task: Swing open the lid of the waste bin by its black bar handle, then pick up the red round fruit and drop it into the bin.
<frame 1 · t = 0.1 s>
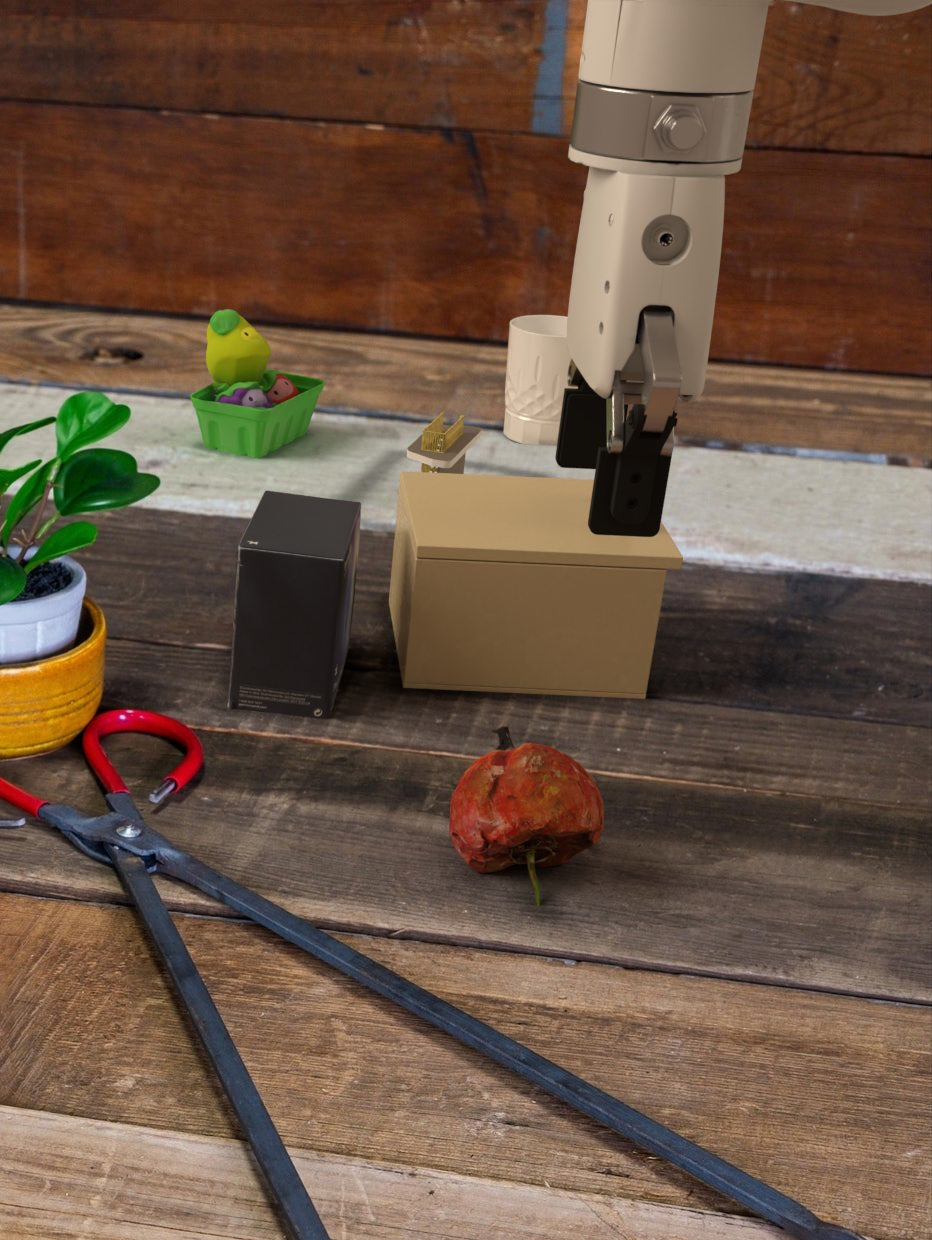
hand: (603, 498, 82), 17 cm above the table, tool pointing down, fingers open, 9 cm apart
fruit basket: (249, 446, 145), on the table
platform: (436, 504, 133), on the table
waste bin: (508, 654, 107), on the table
bin lid: (537, 484, 102), point 11 cm above the table, hinge at 0.0°
white cup: (540, 439, 150), on the table
red round fruit: (517, 879, 84), on the table
small box: (291, 687, 102), on the table
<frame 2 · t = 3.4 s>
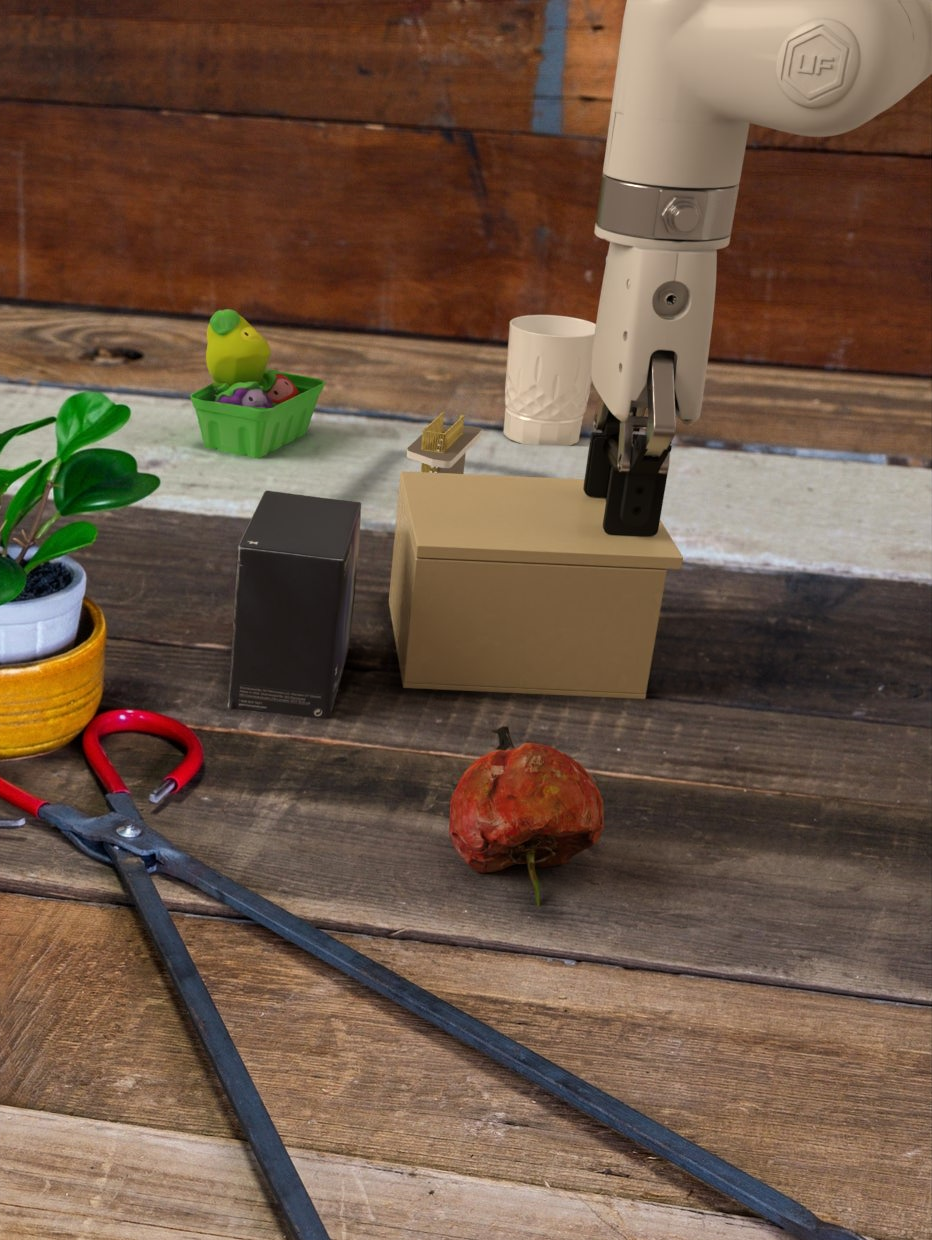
hand: (619, 511, 103), 10 cm above the table, tool pointing down, fingers closed on bin lid, 6 cm apart
bin lid: (537, 484, 102), point 11 cm above the table, hinge at 0.0°, touching gripper
everything else where it was.
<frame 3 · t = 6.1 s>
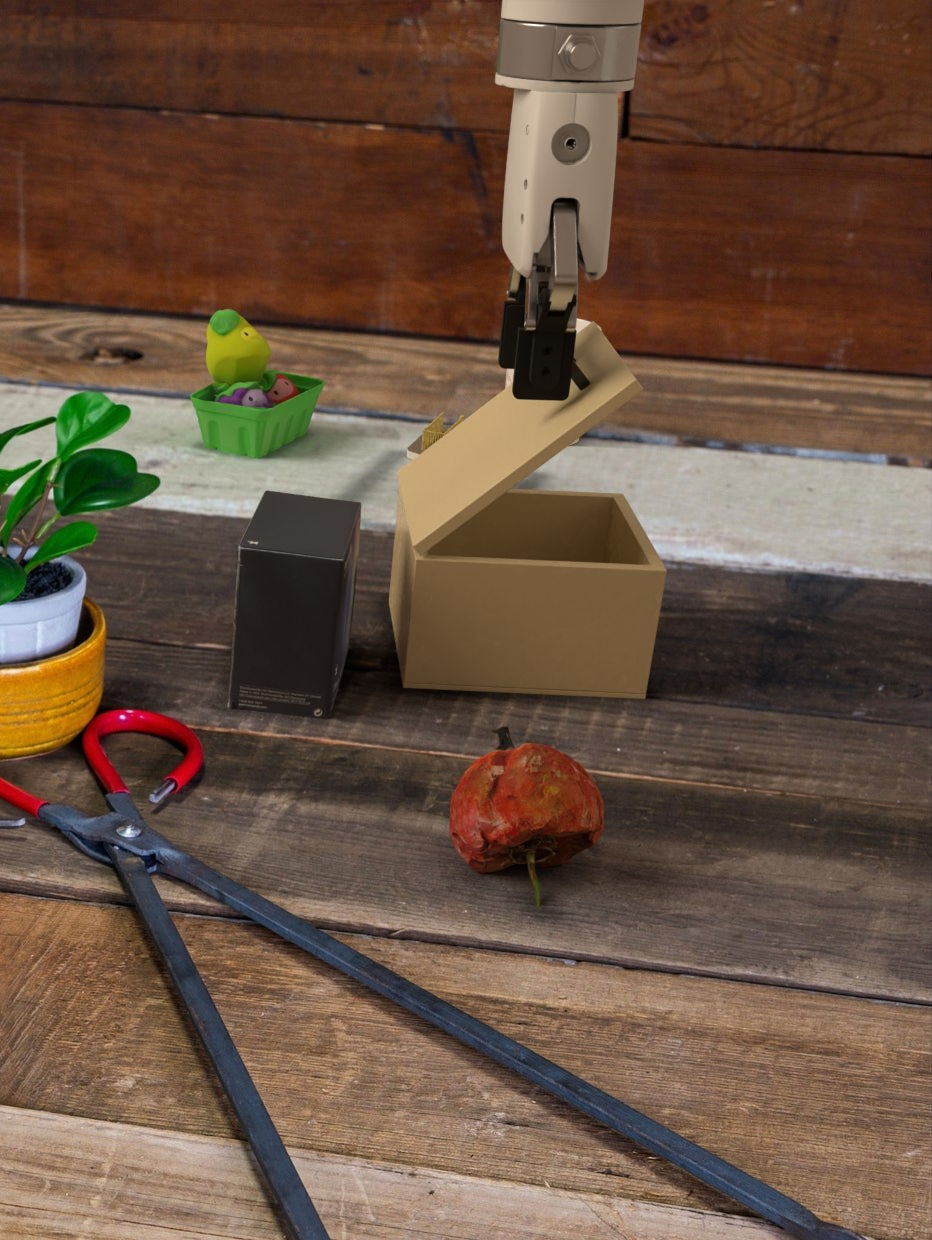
hand: (532, 380, 99), 18 cm above the table, tool pointing down, fingers closed on bin lid, 6 cm apart
bin lid: (488, 407, 100), point 16 cm above the table, hinge at 42.4°, touching gripper
everything else where it was.
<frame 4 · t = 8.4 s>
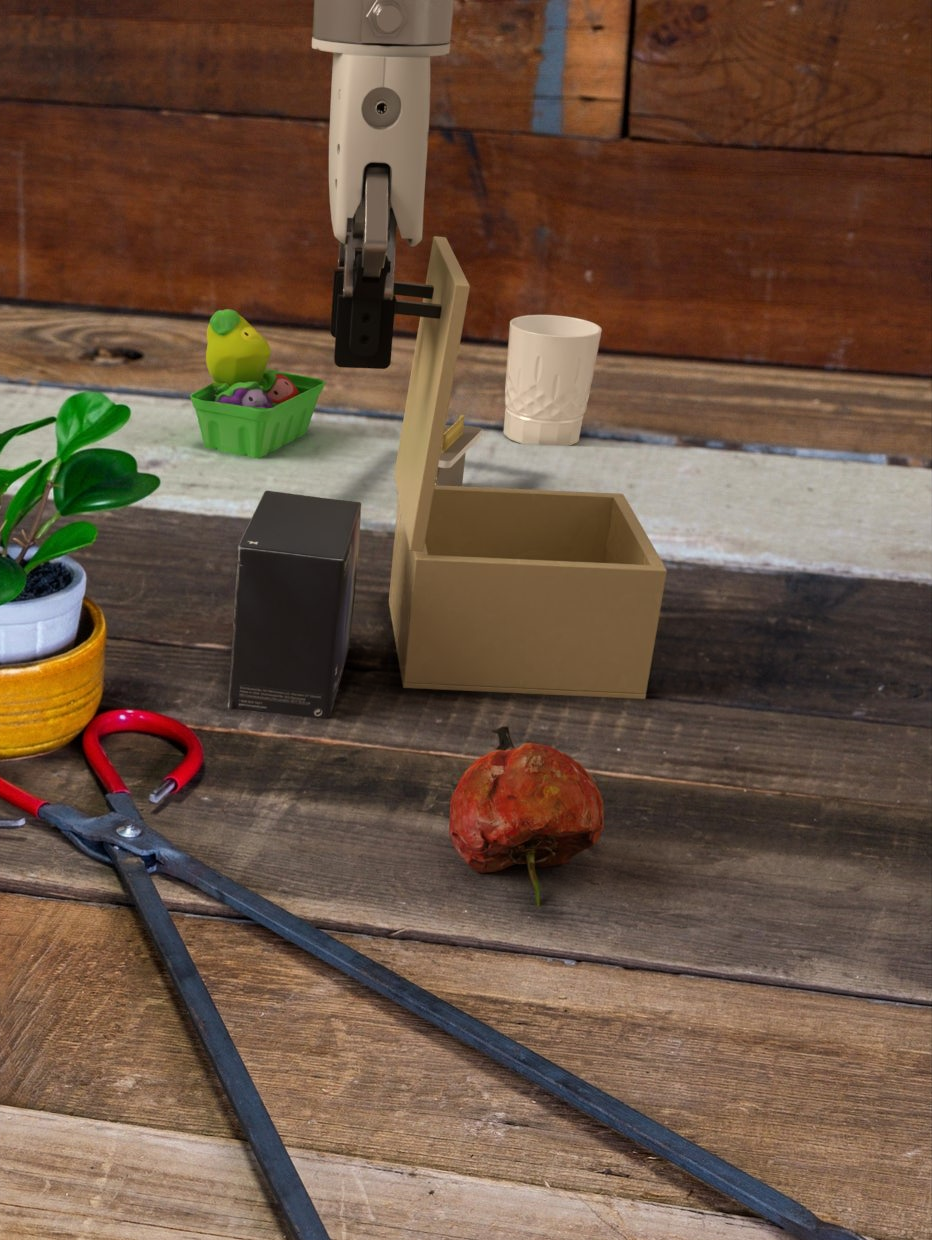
hand: (359, 348, 99), 19 cm above the table, tool pointing down, fingers closed on bin lid, 6 cm apart
bin lid: (392, 385, 100), point 17 cm above the table, hinge at 85.9°, touching gripper
everything else where it was.
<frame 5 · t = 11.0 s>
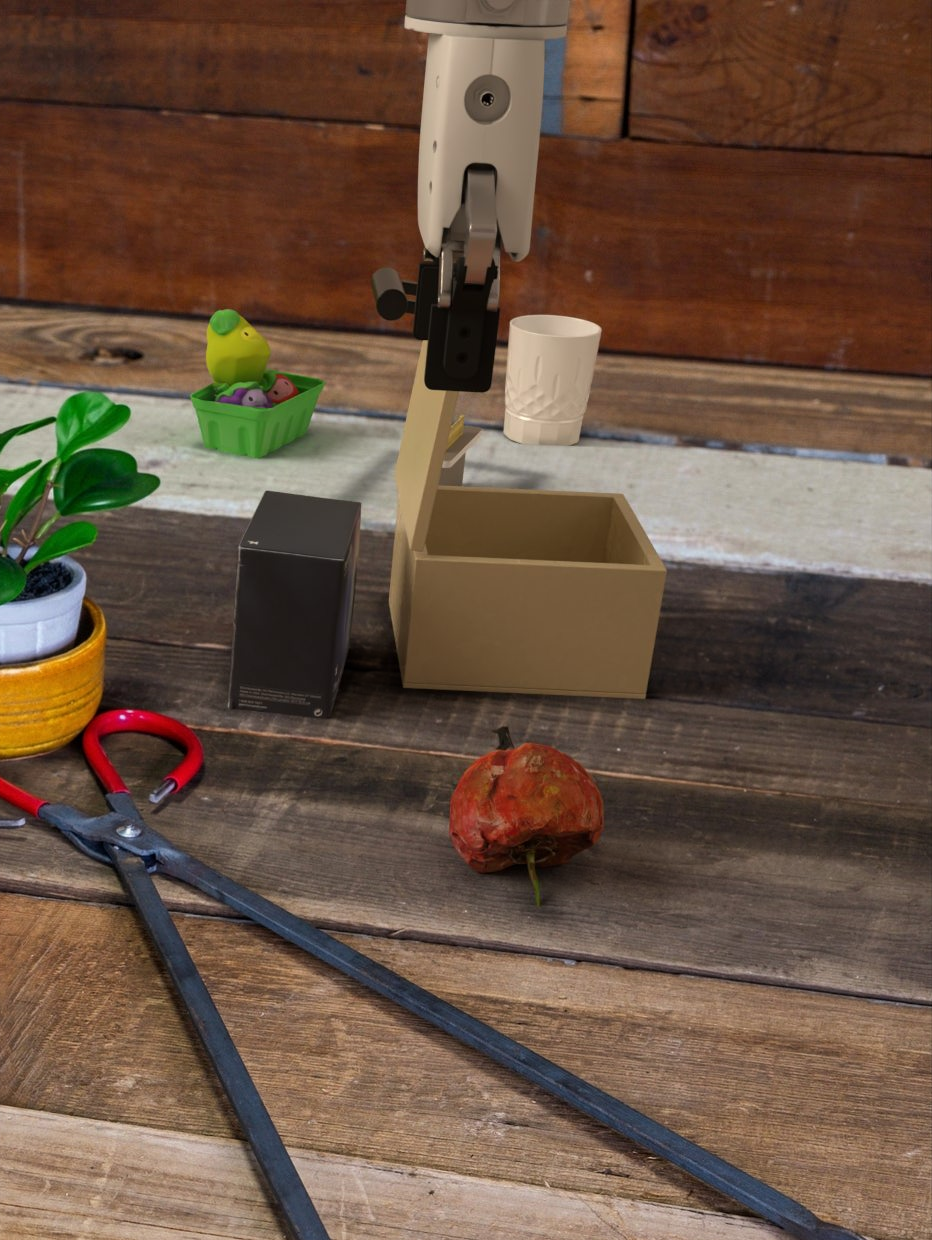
hand: (449, 363, 86), 22 cm above the table, tool pointing down, fingers open, 9 cm apart
bin lid: (398, 385, 100), point 17 cm above the table, hinge at 83.3°
everything else where it was.
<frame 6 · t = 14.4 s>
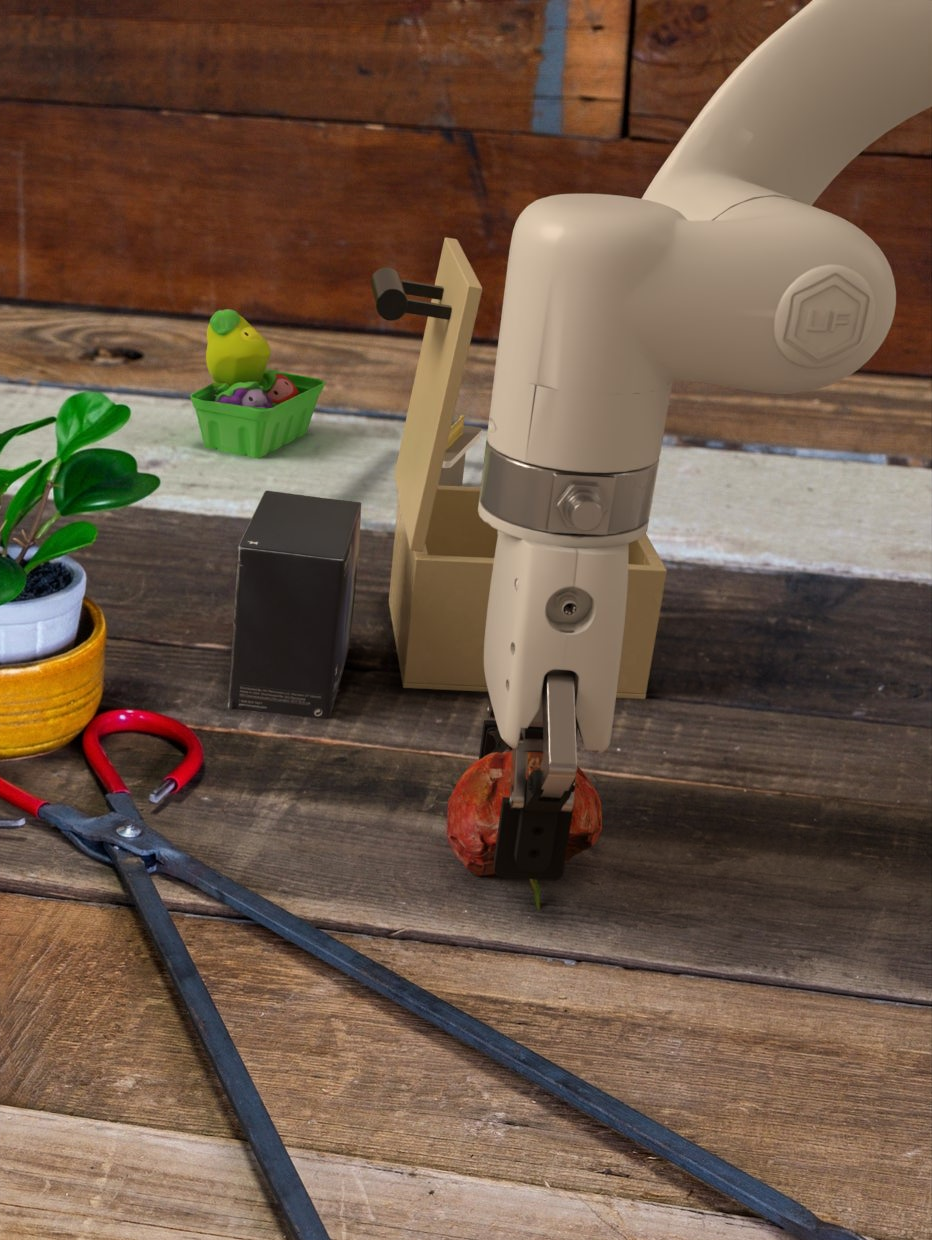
hand: (516, 830, 82), 3 cm above the table, tool pointing down, fingers closed on red round fruit, 7 cm apart
red round fruit: (515, 881, 83), on the table, touching gripper
everything else where it was.
when the fingers open (9 cm above the table, at t = 22.6 s): red round fruit drops 5 cm, resting on waste bin.
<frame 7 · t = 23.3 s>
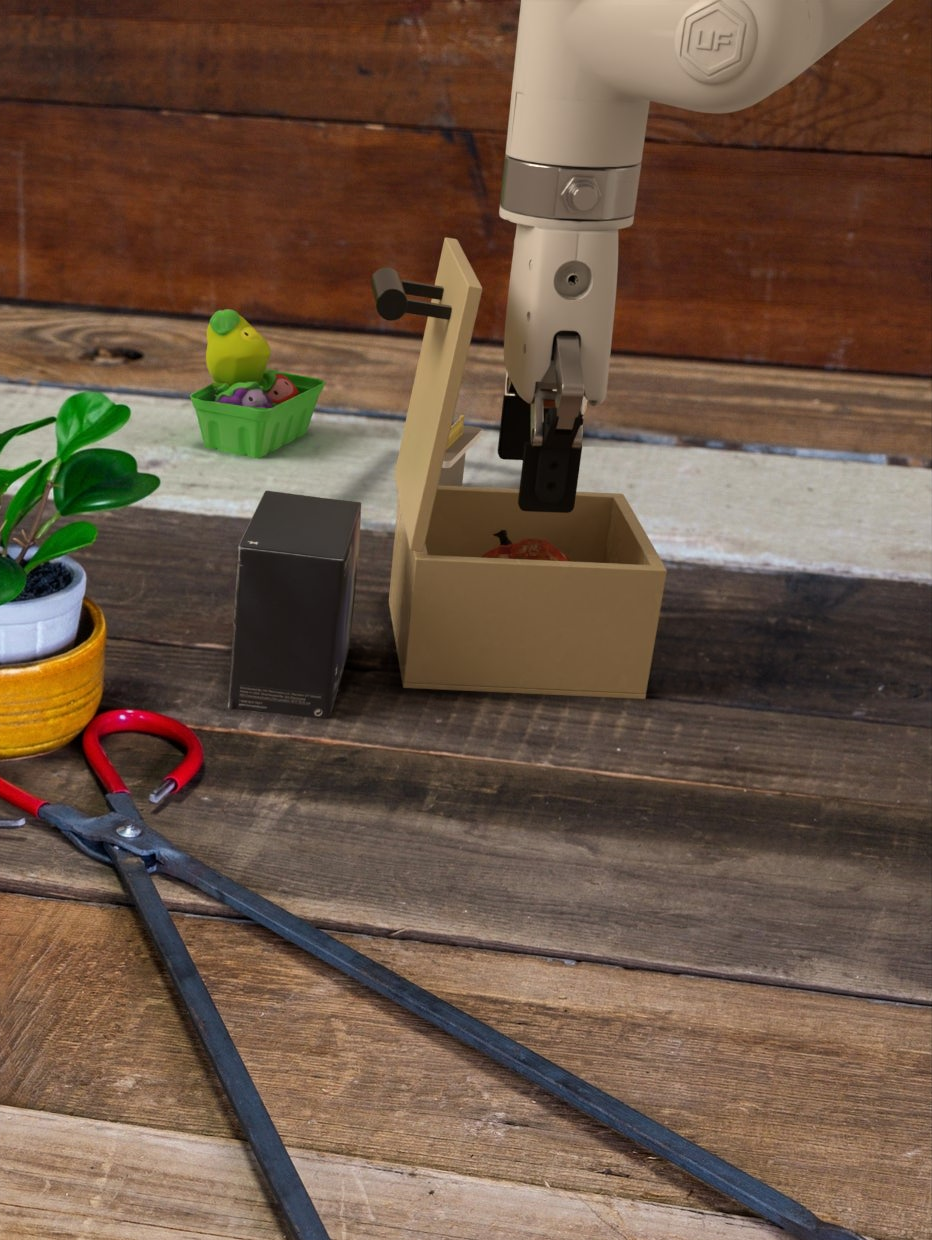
hand: (533, 483, 102), 11 cm above the table, tool pointing down, fingers open, 9 cm apart
red round fruit: (517, 648, 107), point 1 cm above the table, touching waste bin
everything else where it was.
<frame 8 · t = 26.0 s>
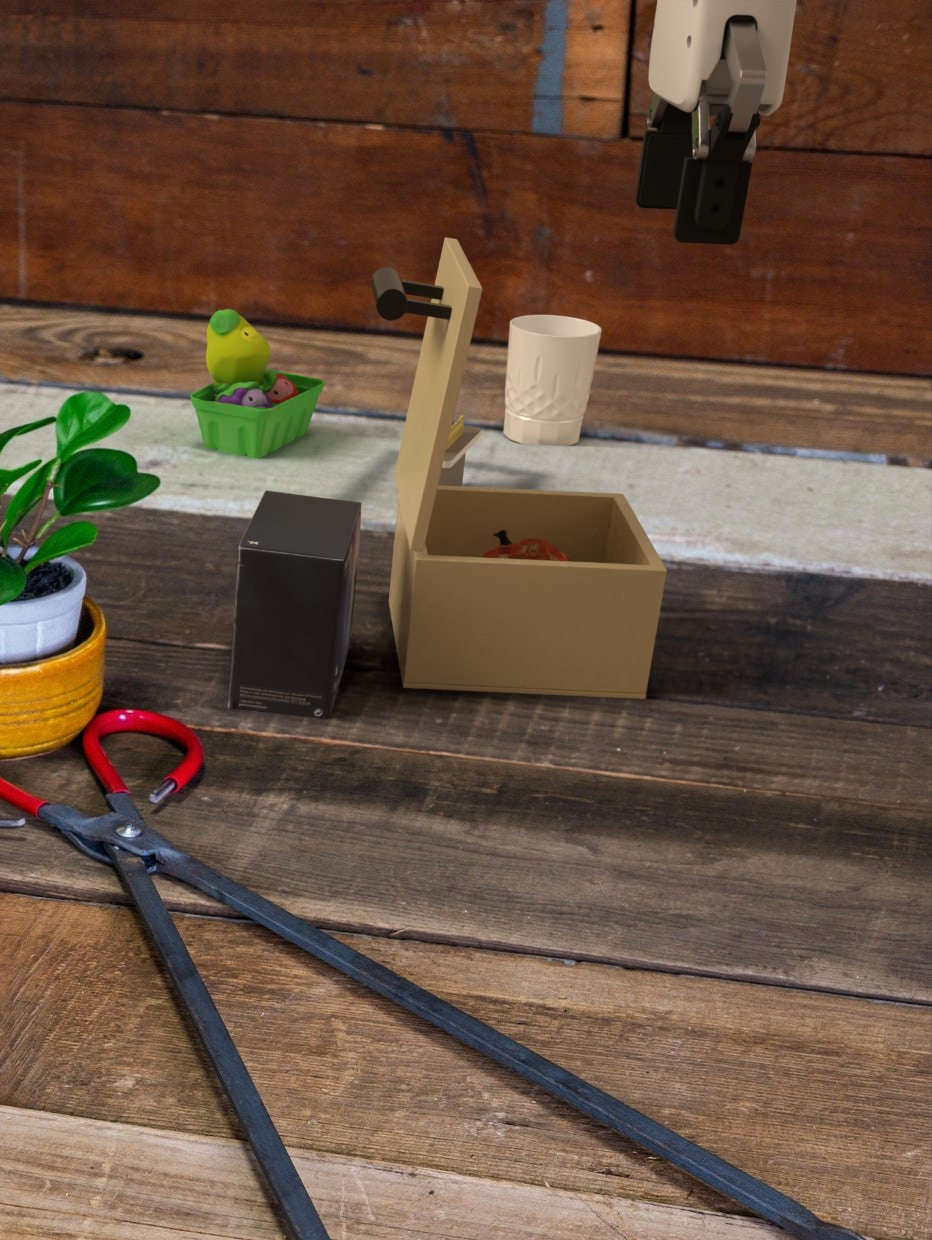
hand: (683, 224, 88), 28 cm above the table, tool pointing down, fingers open, 9 cm apart
nothing on the table moved.
at the end: bin lid at +83° (first picture: +0°); red round fruit inside the target area in the waste bin (0.6 cm from its centre), point 0.6 cm above the waste bin's base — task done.
